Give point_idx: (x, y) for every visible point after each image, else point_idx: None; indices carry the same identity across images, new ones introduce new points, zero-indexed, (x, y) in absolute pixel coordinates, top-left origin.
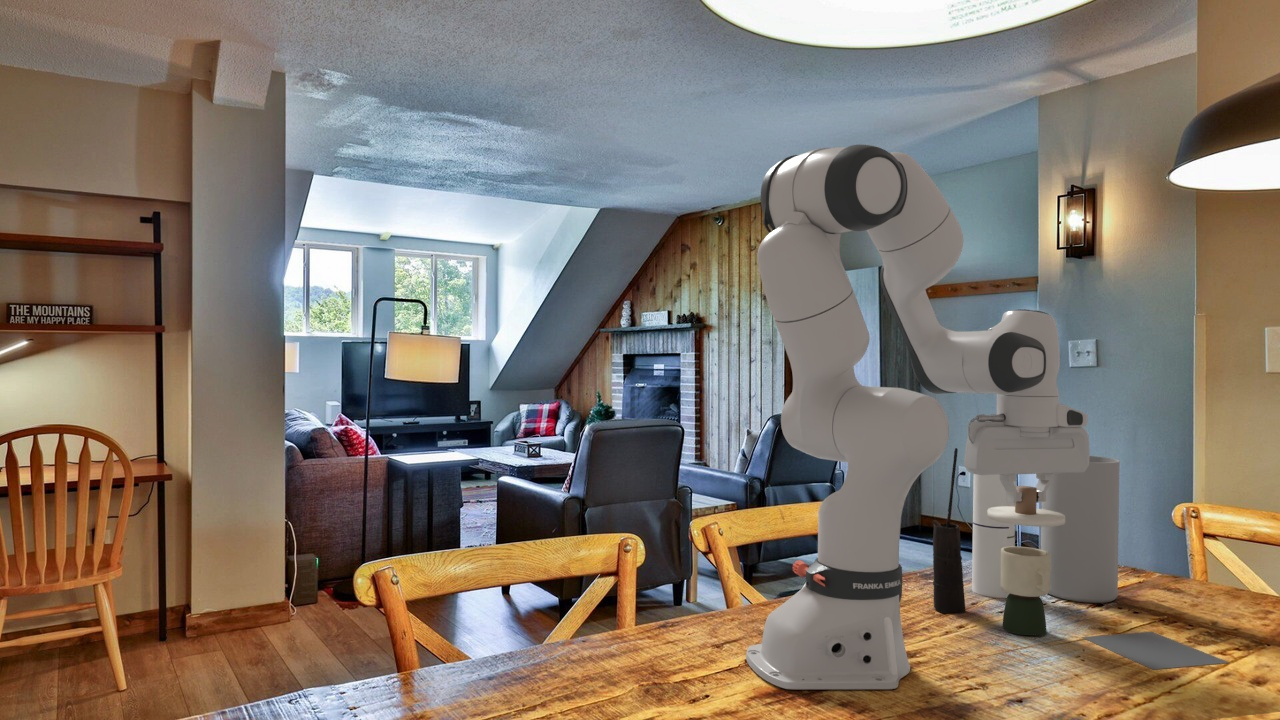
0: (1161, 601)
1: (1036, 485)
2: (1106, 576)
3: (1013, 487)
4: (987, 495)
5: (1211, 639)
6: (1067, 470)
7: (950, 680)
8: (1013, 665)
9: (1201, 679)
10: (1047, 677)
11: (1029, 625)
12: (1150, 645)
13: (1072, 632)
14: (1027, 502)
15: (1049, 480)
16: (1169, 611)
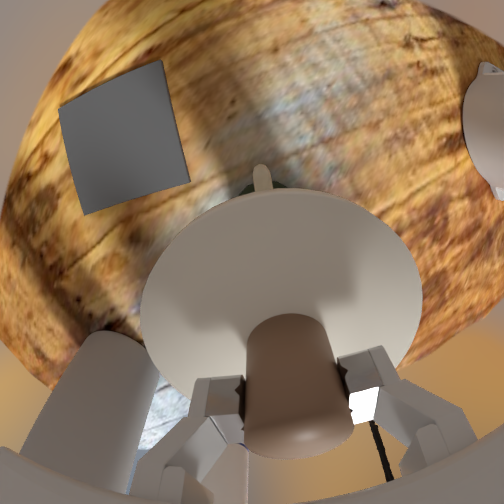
0: (50, 329)
1: (216, 460)
2: (86, 350)
3: (416, 396)
4: (234, 488)
5: (37, 206)
6: (50, 480)
7: (435, 63)
8: (348, 86)
9: (114, 57)
10: (321, 45)
11: (275, 185)
12: (109, 155)
13: (185, 220)
14: (312, 352)
15: (159, 464)
16: (49, 300)
